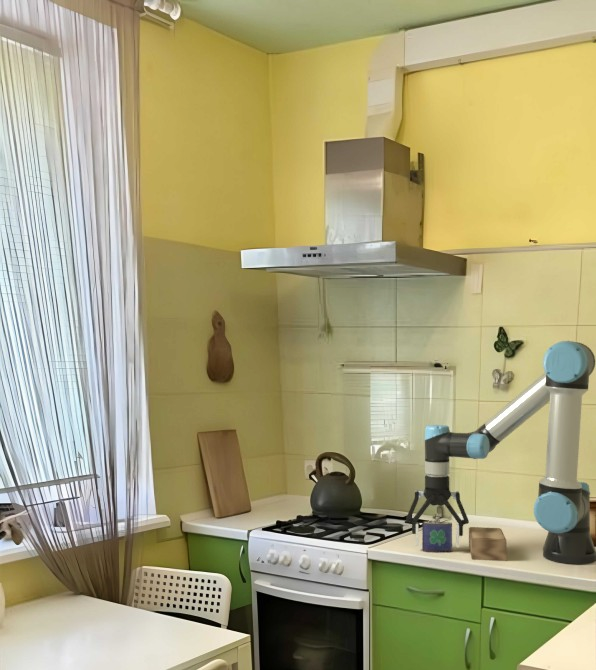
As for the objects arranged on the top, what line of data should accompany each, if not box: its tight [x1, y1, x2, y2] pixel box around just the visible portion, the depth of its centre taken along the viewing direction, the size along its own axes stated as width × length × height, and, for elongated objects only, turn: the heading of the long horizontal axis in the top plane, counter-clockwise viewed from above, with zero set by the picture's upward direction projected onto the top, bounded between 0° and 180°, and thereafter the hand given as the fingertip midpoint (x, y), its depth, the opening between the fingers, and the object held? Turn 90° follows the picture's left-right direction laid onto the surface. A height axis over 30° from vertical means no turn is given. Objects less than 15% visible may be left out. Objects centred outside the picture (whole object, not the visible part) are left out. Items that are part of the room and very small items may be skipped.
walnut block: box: [468, 526, 508, 562], centre depth 231 cm, size 10×16×6 cm, turn 170°
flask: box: [421, 516, 453, 553], centre depth 234 cm, size 9×3×11 cm, turn 87°
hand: (437, 545), depth 233 cm, fingers open, 12 cm apart
